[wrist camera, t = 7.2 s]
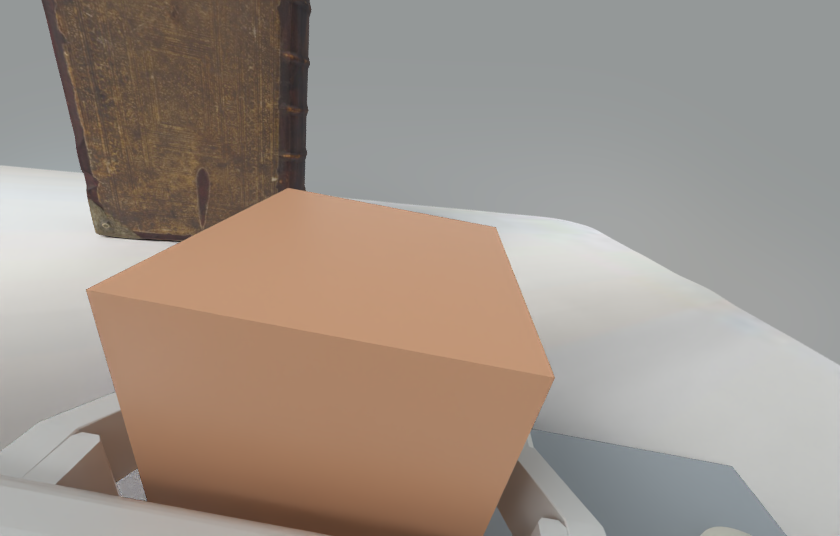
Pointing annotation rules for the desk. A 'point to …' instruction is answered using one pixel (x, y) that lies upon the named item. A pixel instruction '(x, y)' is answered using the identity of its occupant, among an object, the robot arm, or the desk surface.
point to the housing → (327, 368)
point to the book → (183, 107)
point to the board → (650, 491)
